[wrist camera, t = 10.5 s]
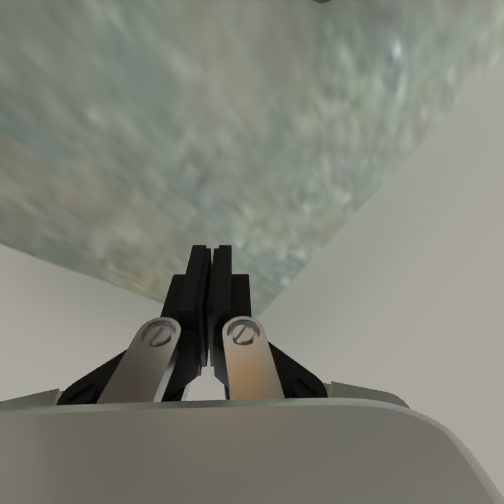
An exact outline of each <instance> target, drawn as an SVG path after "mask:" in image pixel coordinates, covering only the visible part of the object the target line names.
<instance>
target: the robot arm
mask: <svg viewBox="0 0 504 504" xmlns="http://www.w3.org/2000/svg"><path fill="white" fill-rule="evenodd" d="M209 349H210V362H211V366H214V371H215V372H214V373H215V377H216V378H217V379H219V380H220V381H221V382H222V383H223V384H224V390H225V399H226V400H207V401H186V397H187V394H188V391H189V383H190V382H191V381H192V380H193V379H195V378H196V377H197V376H200V375H201V369H202V367H206V366H207V360H208V350H209ZM0 504H504V498H503V496H502V495H501V493H500V492H499V490H498V489H497V487H496V486H495V484H494V483H493V481H492V480H491V478H490V477H489V476H488V474H487V473H486V472H485V470H484V469H483V467H482V466H481V465H480V463H479V462H478V461H477V459H476V458H475V457H474V455H473V454H472V453H471V452H470V451H469V449H468V448H467V447H466V446H465V445H464V444H463V443H462V441H461V440H460V439H459V438H458V437H457V436H456V435H455V434H454V433H453V432H451V431H450V430H449V429H448V428H447V427H445V426H444V425H442V424H441V423H439V422H438V421H436V420H433V419H432V418H430V417H428V416H426V415H424V414H422V413H419V412H417V411H414V410H411V409H410V408H409V406H408V405H407V404H406V403H405V402H404V401H403V400H402V399H400V398H399V397H397V396H396V395H394V394H391V393H388V392H383V391H378V390H373V389H368V388H363V387H358V386H352V385H347V384H342V383H337V382H332V381H331V384H326V383H322V381H320V380H319V379H318V378H317V377H316V376H315V375H314V374H312V373H311V372H309V371H308V370H307V369H305V368H304V367H303V366H301V365H300V364H299V363H297V362H296V361H294V360H293V359H292V358H290V357H289V356H288V355H286V354H285V353H283V352H282V351H281V350H279V349H278V348H276V347H275V346H274V345H272V344H271V343H270V342H268V341H267V338H266V335H265V331H264V328H263V326H262V324H260V322H259V321H257V320H256V319H254V318H252V317H251V302H250V286H249V274H232V246H231V245H219V248H214V255H213V263H212V261H211V248H206V245H193V247H192V251H191V255H190V259H189V263H188V266H187V270H186V274H175V275H174V276H173V278H172V281H171V284H170V287H169V291H168V294H167V297H166V300H165V303H164V307H163V310H162V313H161V316H160V318H155V319H152V320H150V321H148V322H146V323H145V324H144V325H142V327H141V328H140V329H139V330H138V332H137V334H136V335H135V337H134V339H133V340H132V342H131V344H130V346H129V348H128V349H127V350H125V351H124V352H122V353H121V354H119V355H117V356H116V357H114V358H113V359H111V360H110V361H108V362H106V363H105V364H103V365H102V366H100V367H98V368H97V369H95V370H94V371H92V372H91V373H89V374H87V375H86V376H84V377H83V378H81V379H80V380H78V381H76V382H75V383H73V384H72V385H71V386H69V387H68V388H67V389H66V390H65V391H60V390H59V389H54V390H50V391H45V392H41V393H37V394H32V395H28V396H23V397H19V398H14V399H10V400H6V401H1V402H0Z"/></svg>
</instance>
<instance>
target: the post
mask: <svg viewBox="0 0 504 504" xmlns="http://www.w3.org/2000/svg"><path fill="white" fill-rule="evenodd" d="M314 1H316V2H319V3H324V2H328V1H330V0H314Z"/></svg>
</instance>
